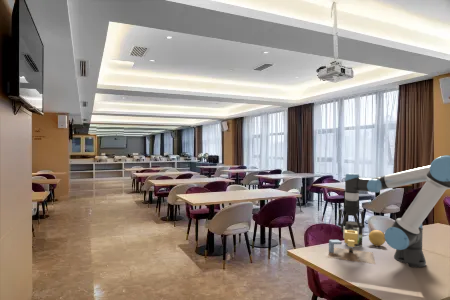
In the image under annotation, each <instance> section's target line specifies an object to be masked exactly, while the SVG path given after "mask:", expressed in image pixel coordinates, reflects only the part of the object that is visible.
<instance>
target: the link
mask: <svg viewBox="0 0 450 300" xmlns="http://www.w3.org/2000/svg"><path fill="white" fill-rule="evenodd" d="M343 239H344V244H345V243H348V245H347V247H349V246H351V247H353V248H355V246H354V244H357V242H358V233H357V231H353V230H346V229H345V238H343Z"/></svg>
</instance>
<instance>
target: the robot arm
mask: <svg viewBox="0 0 450 300" xmlns="http://www.w3.org/2000/svg"><path fill="white" fill-rule="evenodd" d="M344 179H345V180H344V182H345V183H344V207H343V208H339V209H338V211H339V217H338V223H337V225H338V226H340V229H341V230H340V232H341V233H342V234H343V235H342V238H343V239H345V230H346V222H347V219H348V217H349V216H351V217H354V218H355V222H357V224H358V227H359V228H357V233H358V240H359V234H361V228H362V229H365V220H364V214H365V211H364V209H363V210H361V209H360V208H359V194H360V193H359V192H361V191H362V192H368V193H379V192H380V191H382V190H388V189H393V188H397V187H402V186H408V185H411V184H412V185H413V184H419V183H422V182H425V183H424V184H423V185H422V187H421V189H420V190H419V191H418V192H417V194H416V196H415V197H414V199H413V201H412V202H411V203H410V205H409V206H408V207H407V209H406V210H405V212H404V213H403V215H402V216H401V217H398V218H396V220H395V221H394V222H393V223H392V225H391V226H390V227H388V228H387V229H385V232H384V234H385V235H384V236H385V240H386V241H385V242H386V244H387V245H388V246H389V247H390V248H391V249H394V250H395V252H394V255H393V258H394V260H396V261H398V262H400V263H404V264H407V265H408V267H411V268H424V267H426V266H427V265H426V264H427V261H426V258H425V255H424V251H423V234H424V232H423V230H424V227H423V222H424V221H425V219H426V218H427V217H428V216H429V214H430V213H431V212H432V210H433V208H434V207H435V205H437V203H438V202H439V200H440V199H441V197H442V196H443V195H444V193H445V192H446V190H450V155H441V156H438V157H436V158H434V159H433V161H432V162H431V163H430V165H426V166H422V167H417V168H413V169H408V170H403V171H399V172H396V173H390V174H386V175H381V176H377V177H360V174H359V173H355V172H354V173H350V172H349V173H346V174H345V178H344ZM344 212H345V213H346V214H345V216H344V218H343V219H342V215H343V213H344ZM358 213H359V214H360V217H361V218H360V220H361V222H360V221H359V218H358ZM359 222H360V223H362V226H361V225H360V223H359Z"/></svg>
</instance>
